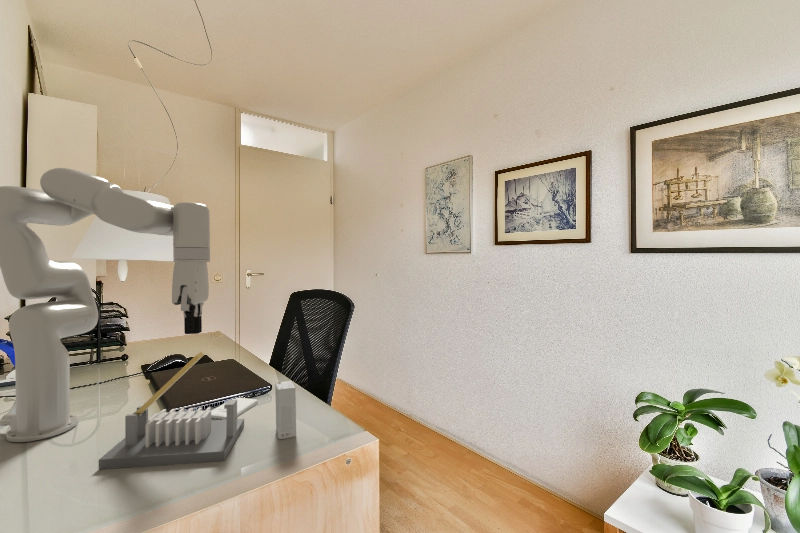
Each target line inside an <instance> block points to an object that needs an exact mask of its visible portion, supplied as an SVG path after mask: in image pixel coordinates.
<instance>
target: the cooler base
mask: <svg viewBox="0 0 800 533" xmlns="http://www.w3.org/2000/svg"><path fill="white" fill-rule="evenodd" d="M224 403H225V405H224V409H227V420H220V419H211V411H212V406H208V407H207V408H206V409H205V410H203V407H198V408H197V409H196V410H194V407H190V408H188V410H187V411H185V407H184V408H180V409H179V410H178V411H176V408H172V409H170V410H169V412H168V411H167V409H166V408H165V409H164V408H163V409H162V410H161V411H160V412H155V413H154V414H153V415H152V416H151V417H149V408H148V409H147V410H146V411H145V412H144V414H143V415H142V416H141V417H139V418H138V419H137V414H133V413H132V414H131V413H129V414H126V415H125V418H124V419H125V420H124V422H125V425H124V427H125V429H124V432H125V434H124V435H125V436H124V438H123V439H122V440H120V441H119V442H118V443H117V444H115V446H113V447H112V448H111V449H110V450H108V451H107V452H106V453H105V454H104V455H102V456H101V457H100V458H99V459H98V470H107V469H108V470H109V469H123V468H137V467H140V468H141V467H149V466H151V467H152V466H167V465H168V466H169V465H181V464H194V463H195V464H196V463H206V462H207V463H208V462H223V461H226V458H227V457H228V455H229V453H230V451H231V450H232V448H233V446H234V445H235V443H236V441H237V439H238V438H239V436H240V434H241V432H242V431H243V429H244V427H245V418H238V416H237V400H231V399H228V400H227V401H226V402H224ZM142 406H143V405H140V406H137V407H136V411H137V410H138V409H140V408H141V407H142Z"/></svg>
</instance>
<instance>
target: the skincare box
mask: <svg viewBox="0 0 800 533" xmlns="http://www.w3.org/2000/svg"><path fill="white" fill-rule="evenodd" d="M274 386H275V389H274V390H275V393H274V395H275V426H276V428H275V429H276V434H277V437H278V440H285V439H291V438H295V437H297V407H296V406H297V405H296V404H297V401H296V400H297V398H296V396H297V395H296V386H295V385H294V383H293V381H292V380H286V381H278V382H276V383H275V385H274Z"/></svg>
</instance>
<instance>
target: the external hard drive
mask: <svg viewBox="0 0 800 533" xmlns="http://www.w3.org/2000/svg"><path fill="white" fill-rule="evenodd" d="M231 399H232V400H237V417H239V416H240V415H241V414H244V413H245V412H246V411H248V410H249V409H251V408H253V407H254V406H255V405H257V404H259V399H255V398H246V397H239V398H236V399H233V398H231ZM225 403H226V402H223V404H221V405H218V406H217V407H215V408H214V409H211V418H214V419H213V420H220V419H222V420H227V409H224V405H225Z"/></svg>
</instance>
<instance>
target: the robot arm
mask: <svg viewBox="0 0 800 533" xmlns="http://www.w3.org/2000/svg"><path fill="white" fill-rule="evenodd" d="M39 185H40V188H41V190H40V189H34V188H30V187H23V186H13V185H3V186H2V185H1V186H0V271H1V274H2V278H3V281H4V284H5V287H6V289H7V291H8V293H9V294H10V296H12V297H13V298H16V299H19V300H36V299H48V298H49V299H50V298H55V299H56V301H46V302H37V303H32V304H31V303H30V304H29V305H25V306H22V307H20V308H19V309H17V310H15V311H14V312H13V313H12V315H11V316H10V318H9V320H8V331H9V334H10V338H11V341H12V345H13V350H14V364H15V365H14V366H15V371H14V372H15V413H10V414H4V415H3V416H2V417H1V420H0V427H5V426H6V427H7V426H9V427H10V428H9V430H8V431H7V432H6V434H5V438H6V440H7V441H8V442H11V443H28V442H35V441H39V440H44V439H47V438H53V437H55V436H57V435H61V434H64V433H65V432H68V431H70V430H71V429H73V428H74V427H75V426H77V425H78V423H79V417H77V416H76V415H72V414H70V413H71V411H70V410H71V404H70V403H71V402H70V401H71V397H70V396H71V394H70V393H71V392H70V389H71V385H70V384H71V380H70V379H71V377H70V376H71V375H70V372H71V371H70V367H71V366H70V363H71V362H70V361H71V359H70V355H69V351H68V349H67V348H66V347H65V345H64V344H63V343H62V341H61V339H63V338H68V337H74V336H79V335H82V334H85V333H88V332H90V331H92V330H93V329H94V328H95V327H96V326H97V324H98V321H99V310H98V306H97V302H96V300H95V296H94V293H93V290H92V287H91V283H90V279H89V277H88V274H87V273H86V271H85V270H84V269H83V267H81V266H80V265H79V264H77V263H76V262H72V261H69V260H68V261H66V260H51V259H50V258H49V256H48V253H47V251H46V246H45V244H44V242H43V241H42V239H41V238H40V237H39V235H37V233H36V232H35V231H33V230H32V229H31V228H30V227H28V224H36V225H47V226H49V225H50V226H57V227H60V226H61V227H63V226H70V225H73V224H75V223H77V222H80V221H81V220H84V219H86V218H87V217H89V216H92V215H95V216H96V217H97V218H98V219H99V220H100V221H103V222H105V223H107V224H109V225H111V226H115V227H118V228H120V229H123V230H126V231H129V232H133V233H138V234H150V235H157V236H166V237H167V236H169V237H171V236H172V238H173V239H172V242H173V244H172V247H173V248H172V249H173V250H172V251H173V258H172V259H173V271H172V285H171V286H172V287H171V303H172V304H173V305H174V306H179V305H180V312H182V313H183V317H184V322H183V323H184V324H183V325H184V330H183V331H184V334H185V335H198V334H200V333H202V331H203V330H202V328H203V326H202V325H203V323H202V317H203V316H202V314H203V306H204V303H205V302H206V301H208V300H209V295H210V294H209V292H210V290H209V289H210V288H209V287H210V286H209V272H208V263H209V262H211V239H210V238H211V237H210V235H211V233H210V232H211V231H210V230H211V229H210V209H209V207H208V206H206V204H203V203H198V202H177V203H175V204H174V205H173V204H167V203H163V202H158V201H153V200H149V199H145V198H144V199H143V198H140V197H137V196H135V195H131V194H127V193H126V192H124V191H123V189H122V188H121V187H120V186H119V185H117V184H115V183H113V182H111V181H108V180H107V179H105V178H104V177H102V176H98V175H96V174H92V173H88V172H83V171H80V170H75V169H71V168H66V167H56V168H52V169H49V170H47V171H45V172H44V173H42V175H41V177H40V180H39Z"/></svg>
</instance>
